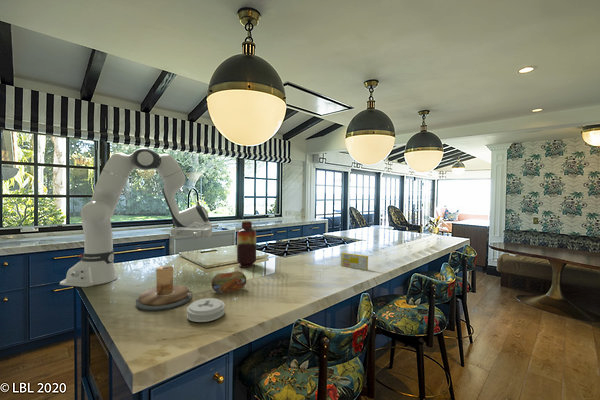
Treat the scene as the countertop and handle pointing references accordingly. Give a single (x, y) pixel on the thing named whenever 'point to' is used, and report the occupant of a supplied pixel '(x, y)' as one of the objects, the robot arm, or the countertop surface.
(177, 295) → the turntable
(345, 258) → the candy box
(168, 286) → the canister
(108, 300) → the countertop surface
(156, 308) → the turntable base
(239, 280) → the tin
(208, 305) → the lid
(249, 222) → the brown bottle
